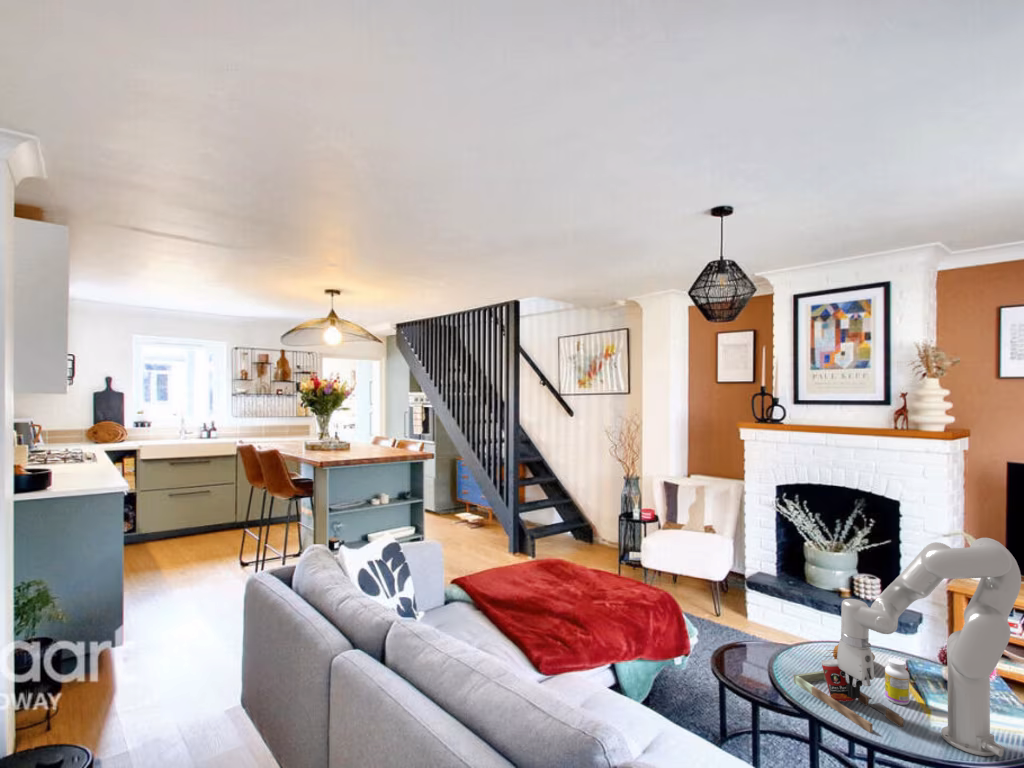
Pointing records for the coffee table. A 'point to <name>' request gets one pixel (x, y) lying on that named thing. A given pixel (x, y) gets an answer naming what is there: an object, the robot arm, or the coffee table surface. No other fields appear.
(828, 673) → the canned food
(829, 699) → the wooden kitchen tongs
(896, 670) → the supplement bottle
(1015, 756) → the coffee table surface
